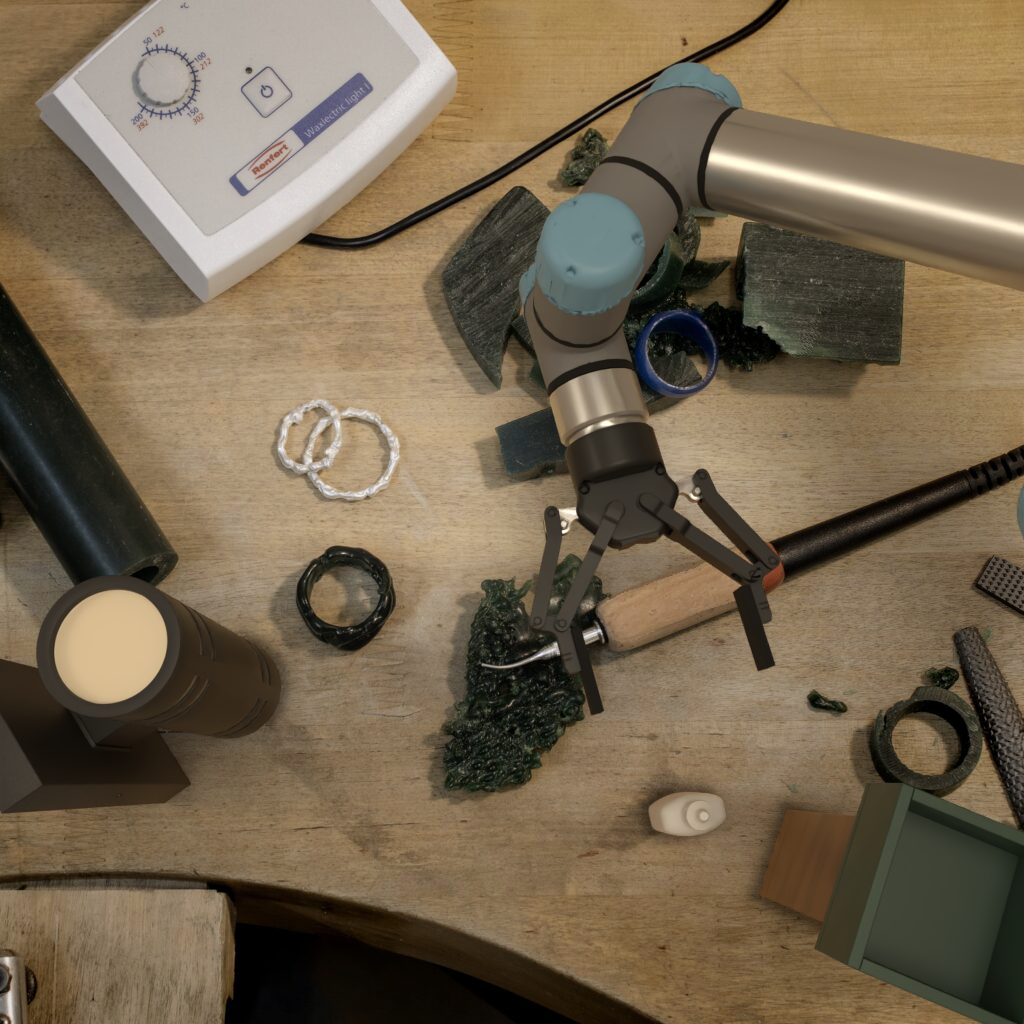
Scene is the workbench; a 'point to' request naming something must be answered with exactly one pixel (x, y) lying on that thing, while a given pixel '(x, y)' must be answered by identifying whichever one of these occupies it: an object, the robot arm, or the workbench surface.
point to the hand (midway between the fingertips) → (682, 691)
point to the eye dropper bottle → (687, 813)
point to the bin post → (807, 860)
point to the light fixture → (122, 697)
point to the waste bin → (932, 903)
